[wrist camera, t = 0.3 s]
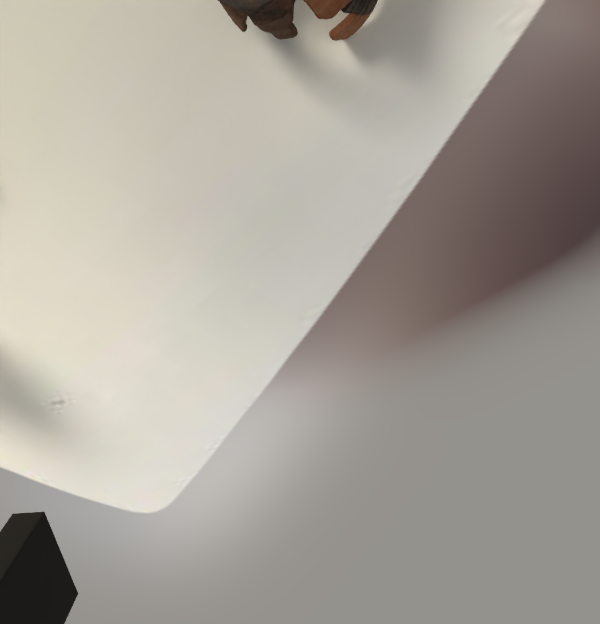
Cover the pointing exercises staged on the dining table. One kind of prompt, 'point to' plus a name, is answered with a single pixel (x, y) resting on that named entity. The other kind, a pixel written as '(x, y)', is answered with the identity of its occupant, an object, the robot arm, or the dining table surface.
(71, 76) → the dining table surface
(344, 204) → the dining table surface
